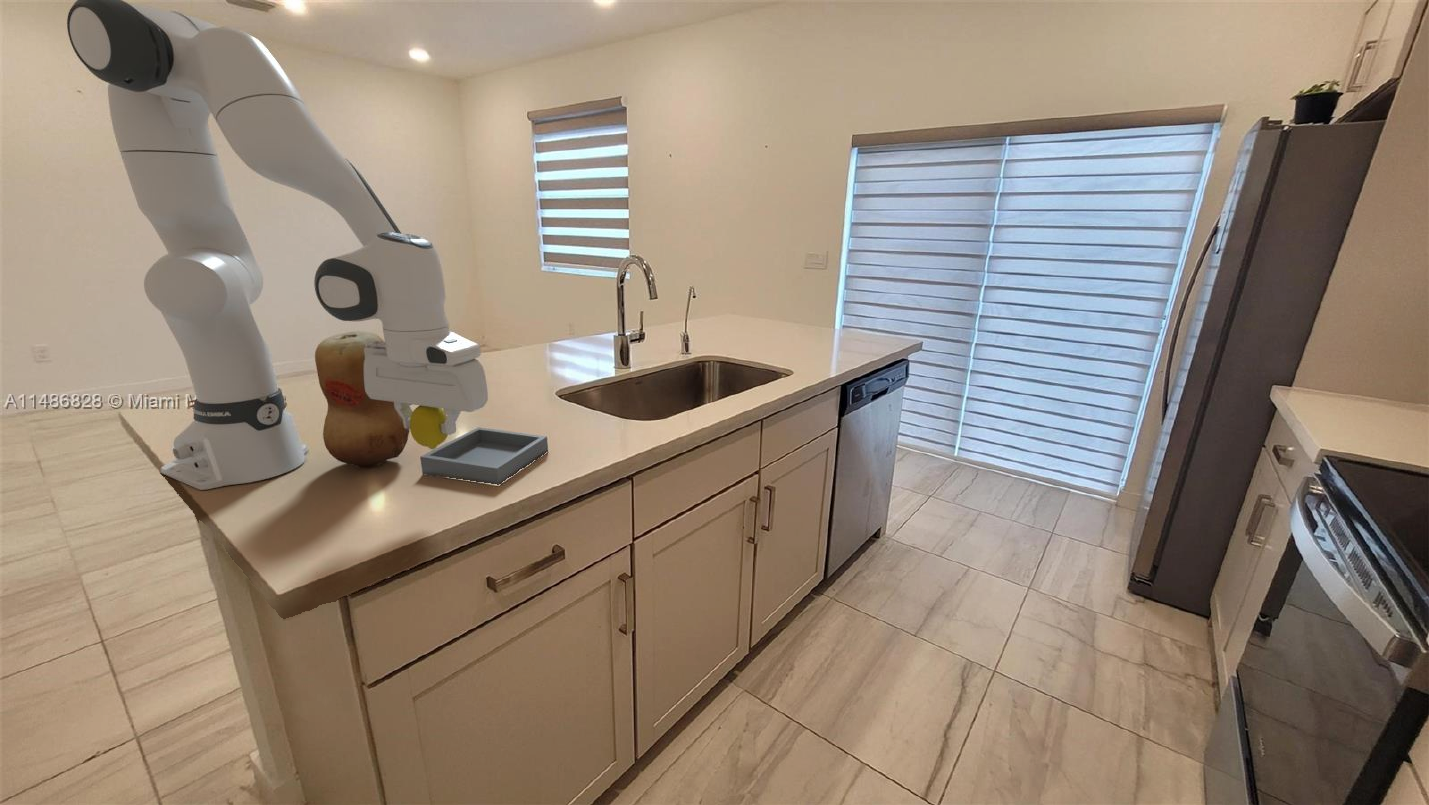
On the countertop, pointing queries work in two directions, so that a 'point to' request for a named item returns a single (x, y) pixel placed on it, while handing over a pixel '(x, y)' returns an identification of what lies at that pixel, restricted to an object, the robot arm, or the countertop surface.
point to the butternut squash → (355, 405)
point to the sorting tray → (484, 455)
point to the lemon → (427, 426)
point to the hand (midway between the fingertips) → (430, 430)
